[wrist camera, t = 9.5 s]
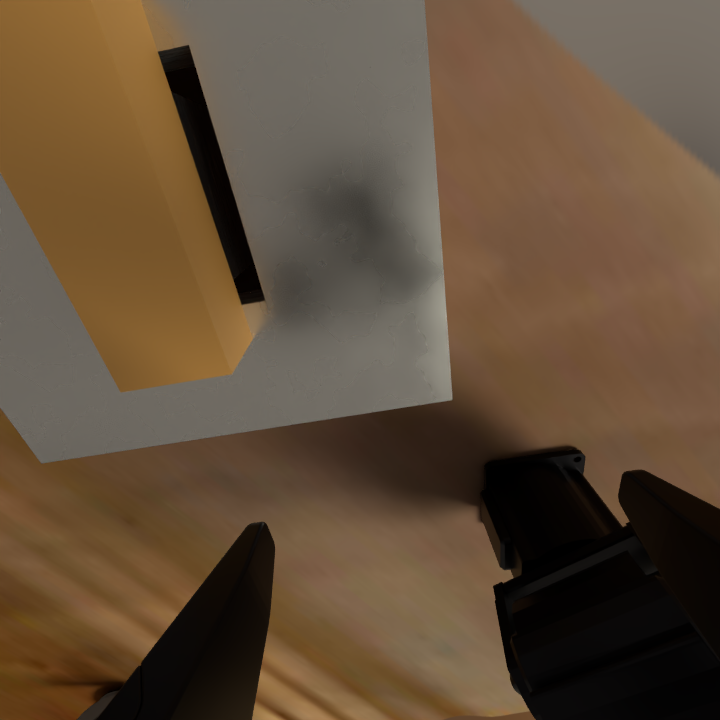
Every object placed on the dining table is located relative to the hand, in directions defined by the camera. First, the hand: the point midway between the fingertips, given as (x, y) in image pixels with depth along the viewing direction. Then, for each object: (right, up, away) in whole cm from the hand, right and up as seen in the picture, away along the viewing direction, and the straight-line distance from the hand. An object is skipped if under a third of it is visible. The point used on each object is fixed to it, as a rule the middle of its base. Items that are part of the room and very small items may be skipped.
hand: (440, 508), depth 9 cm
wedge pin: (-9, +11, +7) cm, 16 cm away
